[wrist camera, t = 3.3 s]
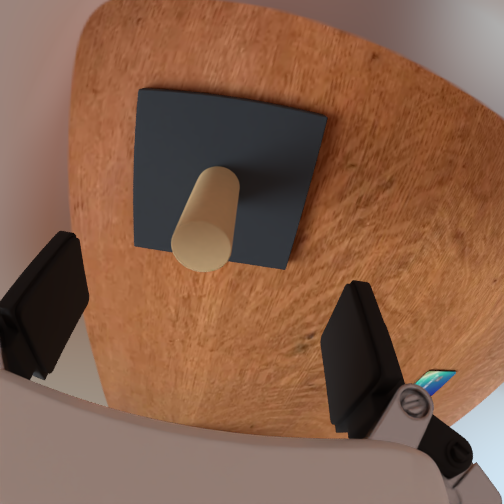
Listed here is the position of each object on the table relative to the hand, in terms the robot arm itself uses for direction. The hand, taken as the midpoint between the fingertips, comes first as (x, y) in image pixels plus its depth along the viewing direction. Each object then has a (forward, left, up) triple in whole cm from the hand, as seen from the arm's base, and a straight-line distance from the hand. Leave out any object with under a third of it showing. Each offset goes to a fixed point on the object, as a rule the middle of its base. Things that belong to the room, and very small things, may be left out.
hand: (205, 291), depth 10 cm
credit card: (+26, -21, -9) cm, 35 cm away
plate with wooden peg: (0, 0, -9) cm, 9 cm away
